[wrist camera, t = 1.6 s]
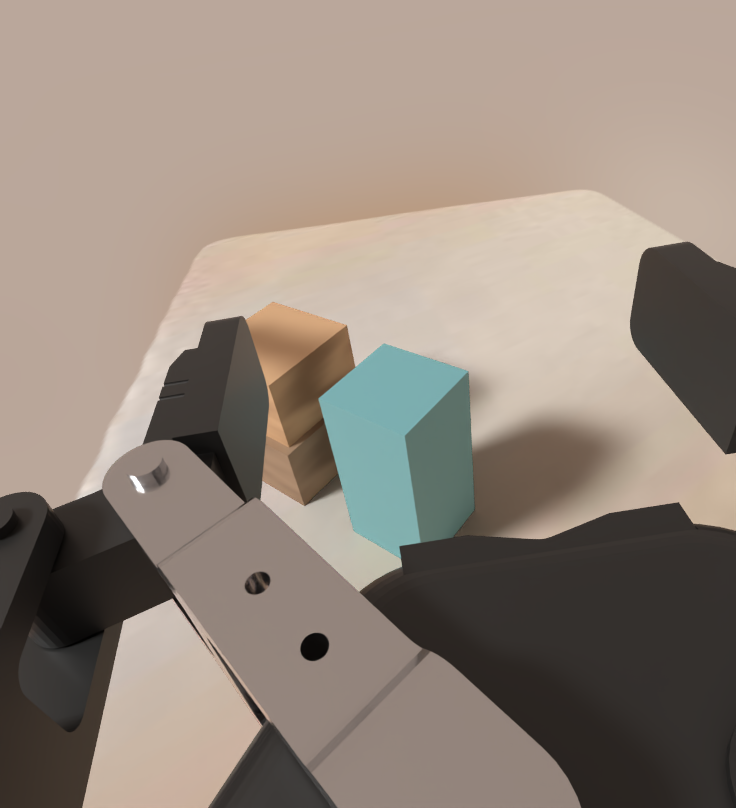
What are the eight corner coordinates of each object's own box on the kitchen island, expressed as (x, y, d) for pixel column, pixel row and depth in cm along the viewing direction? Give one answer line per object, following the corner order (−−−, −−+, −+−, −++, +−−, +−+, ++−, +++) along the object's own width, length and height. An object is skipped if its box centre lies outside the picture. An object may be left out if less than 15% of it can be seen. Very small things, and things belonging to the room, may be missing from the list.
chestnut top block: (289, 358, 43) (272, 302, 40) (359, 386, 39) (346, 325, 36) (219, 412, 40) (195, 353, 36) (289, 447, 36) (268, 385, 32)
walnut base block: (303, 403, 47) (289, 354, 44) (378, 436, 43) (368, 385, 39) (230, 463, 43) (209, 413, 40) (305, 507, 38) (287, 455, 35)
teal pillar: (404, 475, 39) (383, 343, 32) (474, 509, 36) (468, 371, 29) (353, 530, 36) (318, 398, 29) (424, 572, 33) (404, 436, 26)
